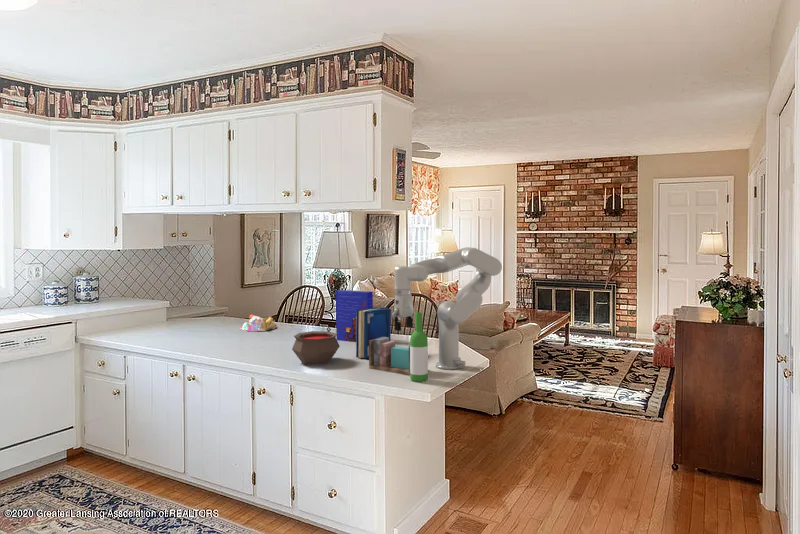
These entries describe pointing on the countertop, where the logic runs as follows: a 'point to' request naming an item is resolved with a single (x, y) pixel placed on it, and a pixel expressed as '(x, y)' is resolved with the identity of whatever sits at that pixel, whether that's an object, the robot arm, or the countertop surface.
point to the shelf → (384, 356)
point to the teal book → (400, 357)
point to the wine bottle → (418, 352)
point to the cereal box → (350, 312)
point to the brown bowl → (315, 347)
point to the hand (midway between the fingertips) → (403, 328)
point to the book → (371, 328)
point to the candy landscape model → (258, 324)
